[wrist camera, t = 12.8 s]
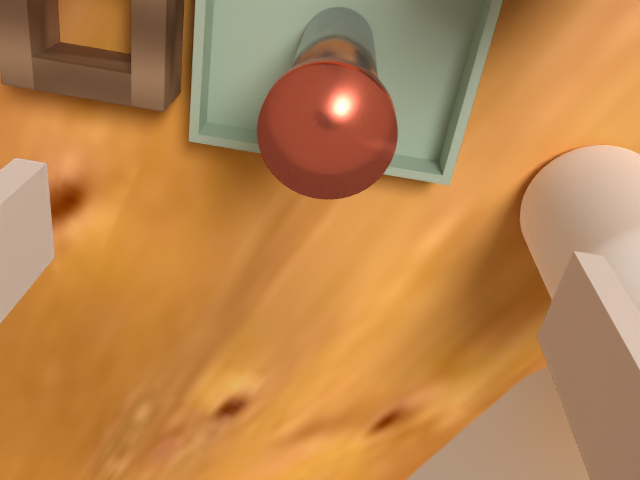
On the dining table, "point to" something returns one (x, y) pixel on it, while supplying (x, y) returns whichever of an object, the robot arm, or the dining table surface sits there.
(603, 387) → the robot arm
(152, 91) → the socket block
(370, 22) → the tray
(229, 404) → the dining table surface
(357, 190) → the pin
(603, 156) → the wine bottle
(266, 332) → the dining table surface
